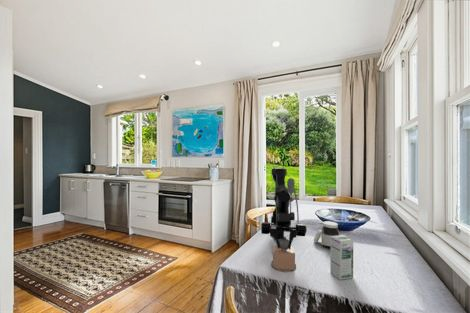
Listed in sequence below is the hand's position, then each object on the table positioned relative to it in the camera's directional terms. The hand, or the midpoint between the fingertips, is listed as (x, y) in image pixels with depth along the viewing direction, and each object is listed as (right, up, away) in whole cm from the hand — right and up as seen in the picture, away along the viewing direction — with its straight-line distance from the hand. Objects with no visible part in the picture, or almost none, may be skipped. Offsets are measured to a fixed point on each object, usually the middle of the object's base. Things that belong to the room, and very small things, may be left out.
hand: (284, 248), depth 92 cm
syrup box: (+21, -8, -6) cm, 23 cm away
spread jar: (+26, -8, +24) cm, 36 cm away
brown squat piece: (0, -7, +1) cm, 8 cm away
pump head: (0, -5, 0) cm, 5 cm away
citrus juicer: (+19, -8, +63) cm, 67 cm away
